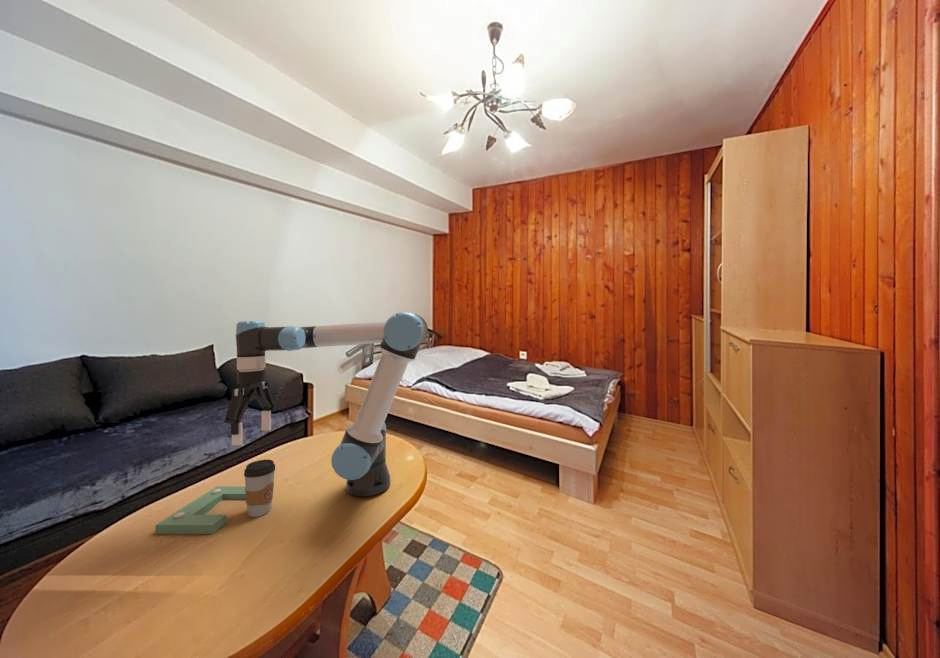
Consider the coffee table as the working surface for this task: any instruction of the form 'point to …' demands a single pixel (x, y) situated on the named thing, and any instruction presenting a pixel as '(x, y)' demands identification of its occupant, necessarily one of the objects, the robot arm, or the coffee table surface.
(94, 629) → the coffee table surface
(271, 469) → the coffee cup
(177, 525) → the mint green u-shaped piece
